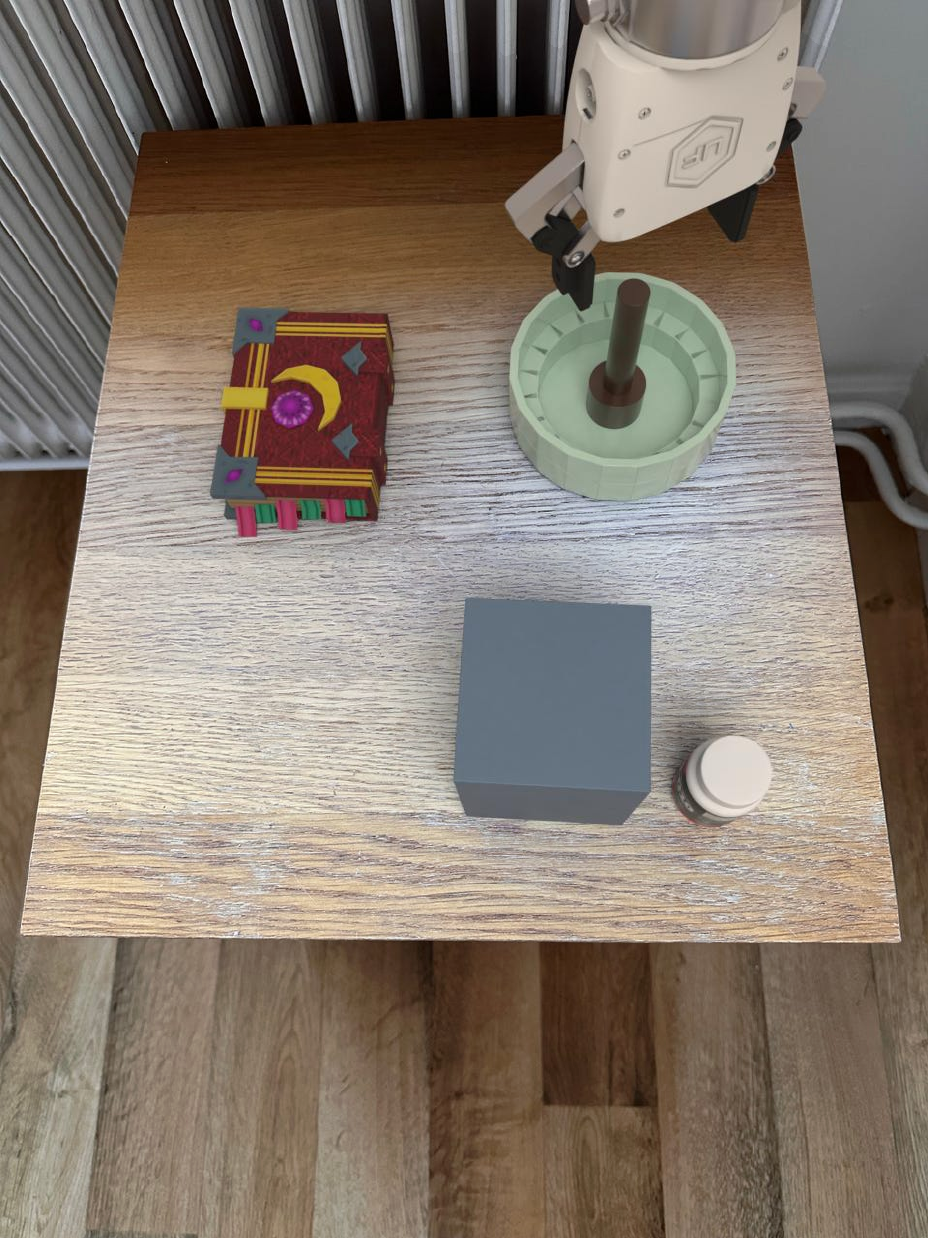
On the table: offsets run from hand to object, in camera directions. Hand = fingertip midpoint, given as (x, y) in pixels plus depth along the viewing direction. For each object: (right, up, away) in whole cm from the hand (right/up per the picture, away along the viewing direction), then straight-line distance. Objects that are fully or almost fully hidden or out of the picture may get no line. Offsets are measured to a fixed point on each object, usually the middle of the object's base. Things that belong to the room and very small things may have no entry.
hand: (649, 257), depth 56 cm
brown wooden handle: (0, -5, +16) cm, 16 cm away
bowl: (0, -5, +16) cm, 17 cm away
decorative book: (-22, -7, +17) cm, 29 cm away
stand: (-5, -29, +9) cm, 31 cm away
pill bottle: (+5, -32, +7) cm, 33 cm away
